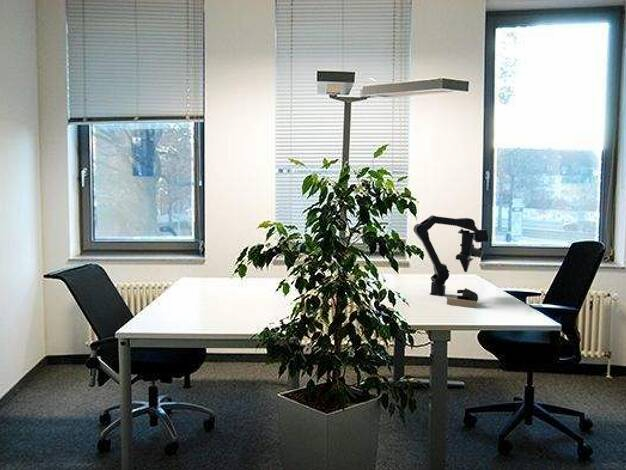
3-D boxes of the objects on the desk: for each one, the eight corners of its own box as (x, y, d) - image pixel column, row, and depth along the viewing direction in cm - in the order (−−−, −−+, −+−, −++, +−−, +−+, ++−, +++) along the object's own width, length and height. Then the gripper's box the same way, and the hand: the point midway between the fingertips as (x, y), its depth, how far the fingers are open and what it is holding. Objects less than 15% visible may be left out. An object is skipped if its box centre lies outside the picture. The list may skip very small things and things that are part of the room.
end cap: (478, 305, 310) (478, 292, 310) (463, 306, 309) (464, 292, 309) (469, 301, 320) (470, 288, 320) (456, 301, 319) (456, 288, 319)
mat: (446, 304, 313) (447, 298, 312) (456, 299, 326) (456, 293, 326) (475, 308, 306) (475, 301, 306) (483, 302, 319) (484, 296, 319)
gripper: (477, 245, 324) (476, 275, 326) (487, 241, 340) (485, 271, 342) (456, 243, 329) (454, 273, 331) (466, 240, 346) (464, 269, 347)
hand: (465, 272), depth 338 cm, fingers closed
